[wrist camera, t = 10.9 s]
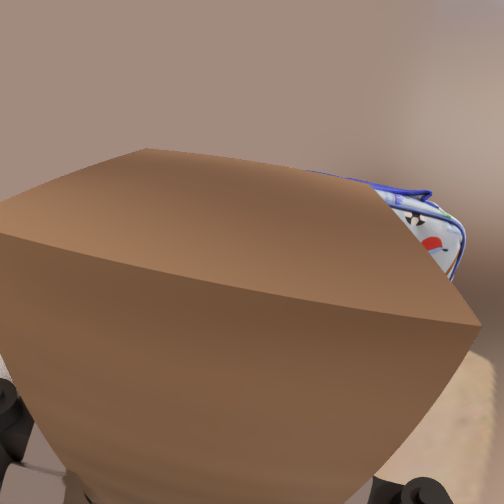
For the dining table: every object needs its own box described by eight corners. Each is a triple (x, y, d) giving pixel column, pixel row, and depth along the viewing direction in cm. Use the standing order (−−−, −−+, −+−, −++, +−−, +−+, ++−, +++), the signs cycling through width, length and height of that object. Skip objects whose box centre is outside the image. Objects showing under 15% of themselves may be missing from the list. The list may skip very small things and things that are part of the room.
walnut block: (245, 575, 8) (482, 326, 2) (137, 549, 8) (-38, 221, 2) (259, 494, 12) (368, 183, 6) (165, 473, 12) (146, 148, 6)
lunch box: (410, 323, 48) (453, 194, 40) (431, 361, 38) (490, 211, 30) (247, 297, 49) (271, 151, 41) (237, 336, 40) (266, 155, 32)
